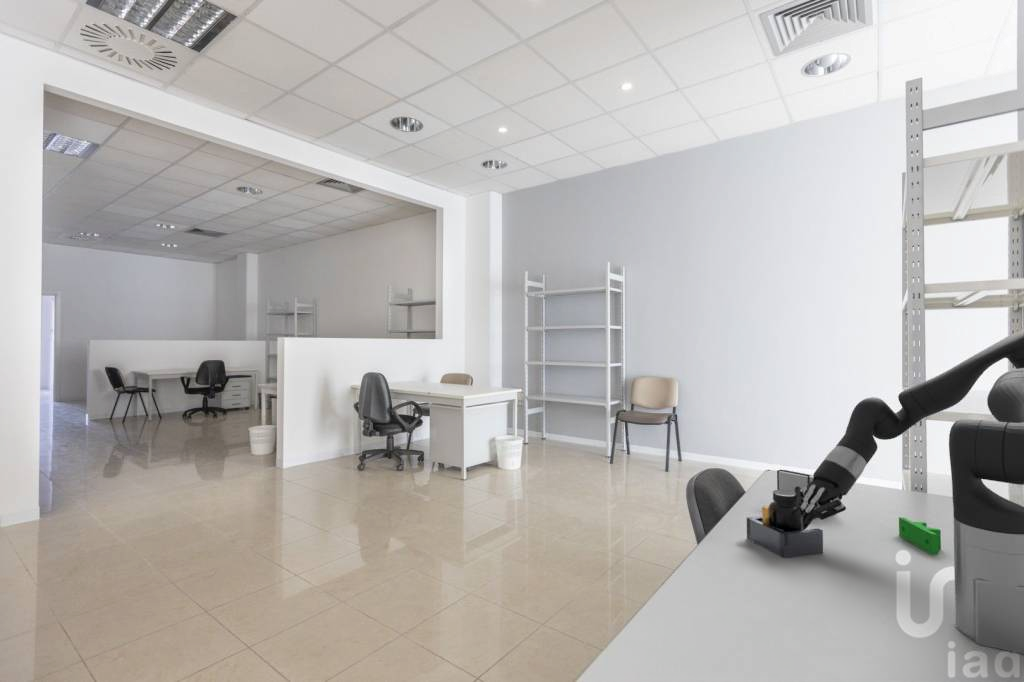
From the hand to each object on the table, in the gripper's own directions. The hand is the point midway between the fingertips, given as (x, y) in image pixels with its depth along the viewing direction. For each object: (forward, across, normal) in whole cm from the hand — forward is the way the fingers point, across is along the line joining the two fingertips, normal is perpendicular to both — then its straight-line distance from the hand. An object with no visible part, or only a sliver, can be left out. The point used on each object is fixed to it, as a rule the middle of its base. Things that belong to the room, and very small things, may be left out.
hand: (797, 527), depth 115 cm
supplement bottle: (+5, 0, 0) cm, 5 cm away
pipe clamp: (-16, -7, -22) cm, 29 cm away
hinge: (-12, +20, -18) cm, 29 cm away
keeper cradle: (+5, 0, 0) cm, 5 cm away
